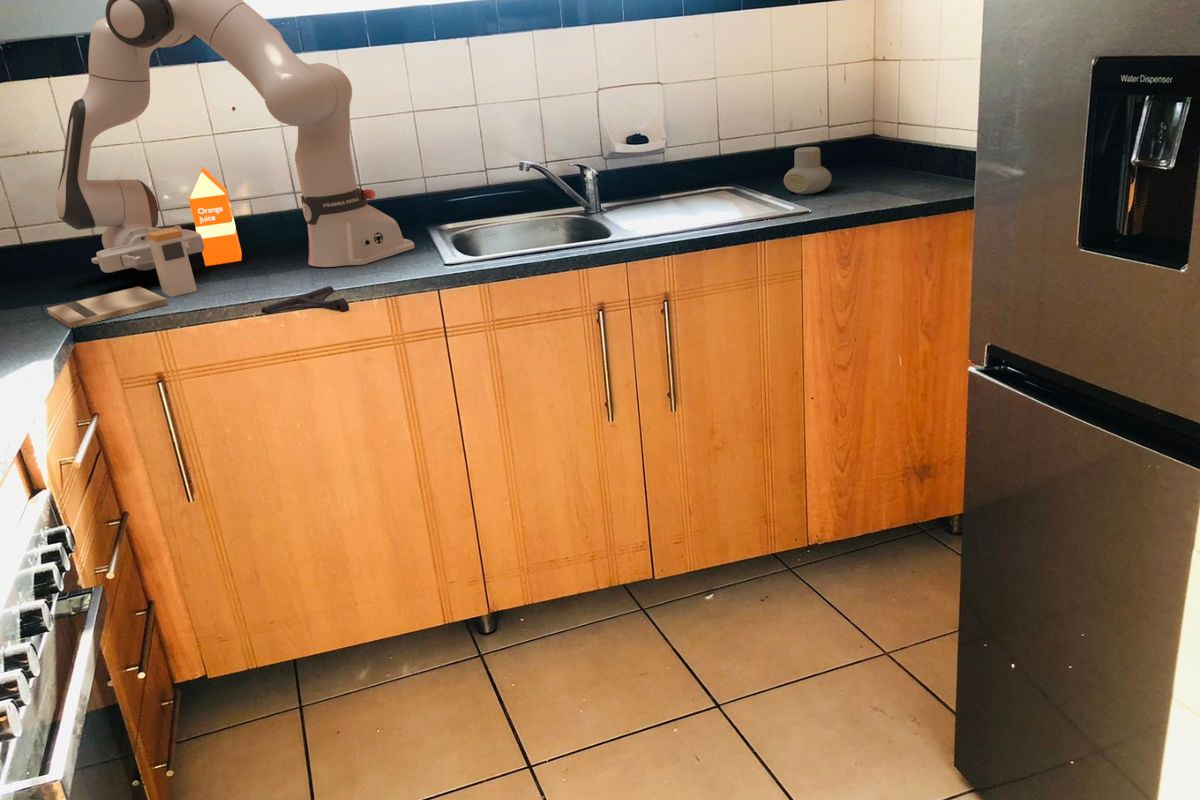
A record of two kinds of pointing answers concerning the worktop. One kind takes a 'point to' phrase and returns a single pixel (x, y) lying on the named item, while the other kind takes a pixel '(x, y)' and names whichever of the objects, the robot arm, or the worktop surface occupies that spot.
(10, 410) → the worktop surface
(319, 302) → the bracket
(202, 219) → the orange juice
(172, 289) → the orange-capped beige carton
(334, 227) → the robot arm
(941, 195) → the worktop surface
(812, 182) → the air freshener
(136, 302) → the subfloor panel
